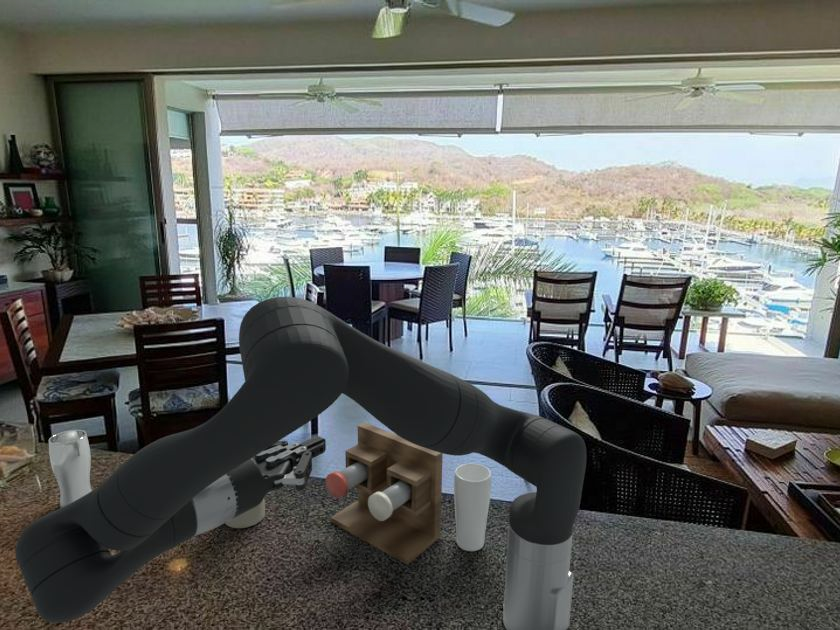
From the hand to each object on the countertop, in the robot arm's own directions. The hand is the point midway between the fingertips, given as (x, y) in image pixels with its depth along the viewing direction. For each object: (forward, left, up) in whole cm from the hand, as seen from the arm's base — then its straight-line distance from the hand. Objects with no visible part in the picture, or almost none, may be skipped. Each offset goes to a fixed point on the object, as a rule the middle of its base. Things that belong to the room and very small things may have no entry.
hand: (322, 443), depth 79 cm
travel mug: (+30, -5, -28) cm, 41 cm away
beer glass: (+62, +14, -28) cm, 70 cm away
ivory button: (0, -17, -19) cm, 26 cm away
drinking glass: (-10, -27, -28) cm, 40 cm away
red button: (+11, -17, -19) cm, 28 cm away
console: (+5, -20, -28) cm, 35 cm away
